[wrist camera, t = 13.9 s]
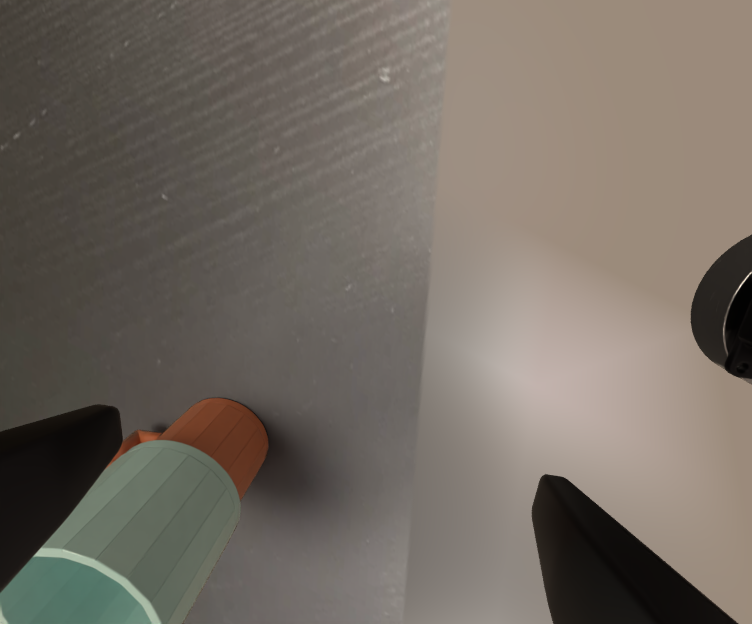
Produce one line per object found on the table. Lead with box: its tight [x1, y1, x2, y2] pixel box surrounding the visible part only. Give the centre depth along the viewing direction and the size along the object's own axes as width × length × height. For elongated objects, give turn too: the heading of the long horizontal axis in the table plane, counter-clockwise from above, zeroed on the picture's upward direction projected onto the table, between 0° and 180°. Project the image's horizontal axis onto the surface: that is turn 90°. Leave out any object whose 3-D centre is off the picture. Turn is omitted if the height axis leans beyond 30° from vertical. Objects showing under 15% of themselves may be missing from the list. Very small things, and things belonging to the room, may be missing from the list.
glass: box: [0, 440, 241, 624], centre depth 16 cm, size 7×7×6 cm
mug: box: [106, 398, 268, 502], centre depth 22 cm, size 8×6×5 cm
